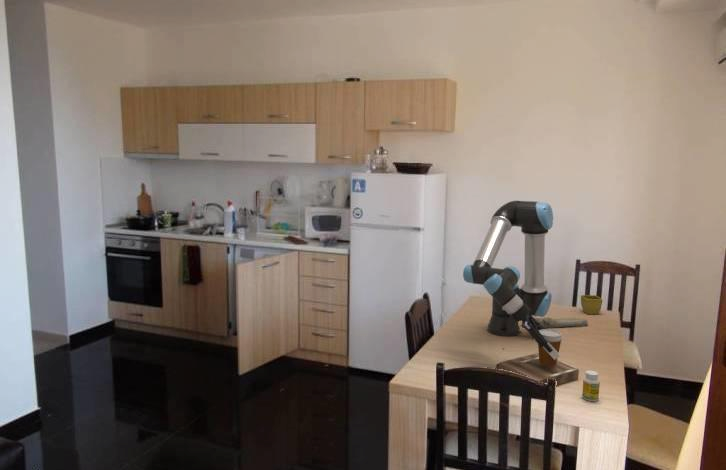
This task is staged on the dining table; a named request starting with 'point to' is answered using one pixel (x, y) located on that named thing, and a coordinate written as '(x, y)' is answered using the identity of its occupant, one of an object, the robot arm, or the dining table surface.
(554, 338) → the disposable coffee cup
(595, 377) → the supplement bottle
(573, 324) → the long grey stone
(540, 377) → the dock
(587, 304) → the flower pot
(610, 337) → the dining table surface
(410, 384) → the dining table surface
